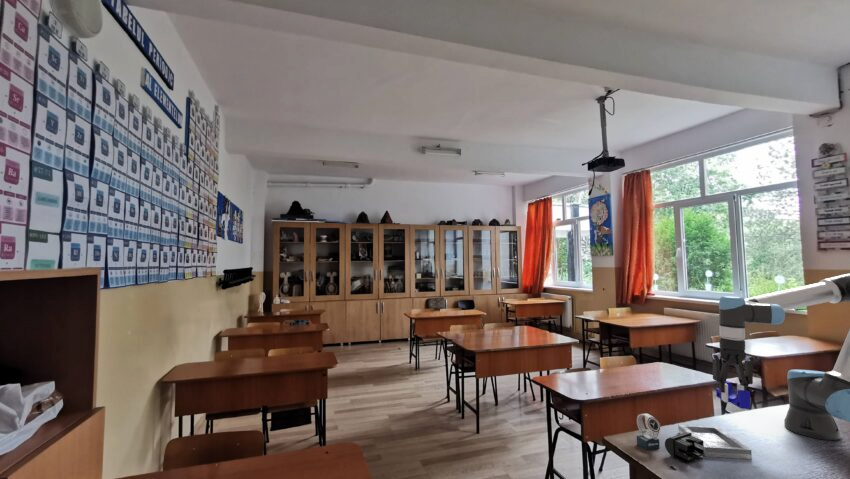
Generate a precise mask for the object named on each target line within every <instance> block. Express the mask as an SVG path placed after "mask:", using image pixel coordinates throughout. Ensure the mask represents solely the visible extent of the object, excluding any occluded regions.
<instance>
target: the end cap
mask: <svg viewBox="0 0 850 479" xmlns="http://www.w3.org/2000/svg"><path fill="white" fill-rule="evenodd" d="M695 443H697V444H700V445H702V446H704V445H703V440H700V439H698V438H695V437H693V436H692V434H691V433H688V432H687V433H683V434H676V435H674V436H670V437H667V438H666V439H665V441H664V447H665V450H666V452H667V453H668V454H669V455H670V456H671V457H672V458H673V459H675V460H676V461H679V462H681V463H682V464H685V465H690V464H694V463H695V462H699V461H702V460H704V456H705V455H704V449H701V448H699V447H697V446H695Z"/></svg>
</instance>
